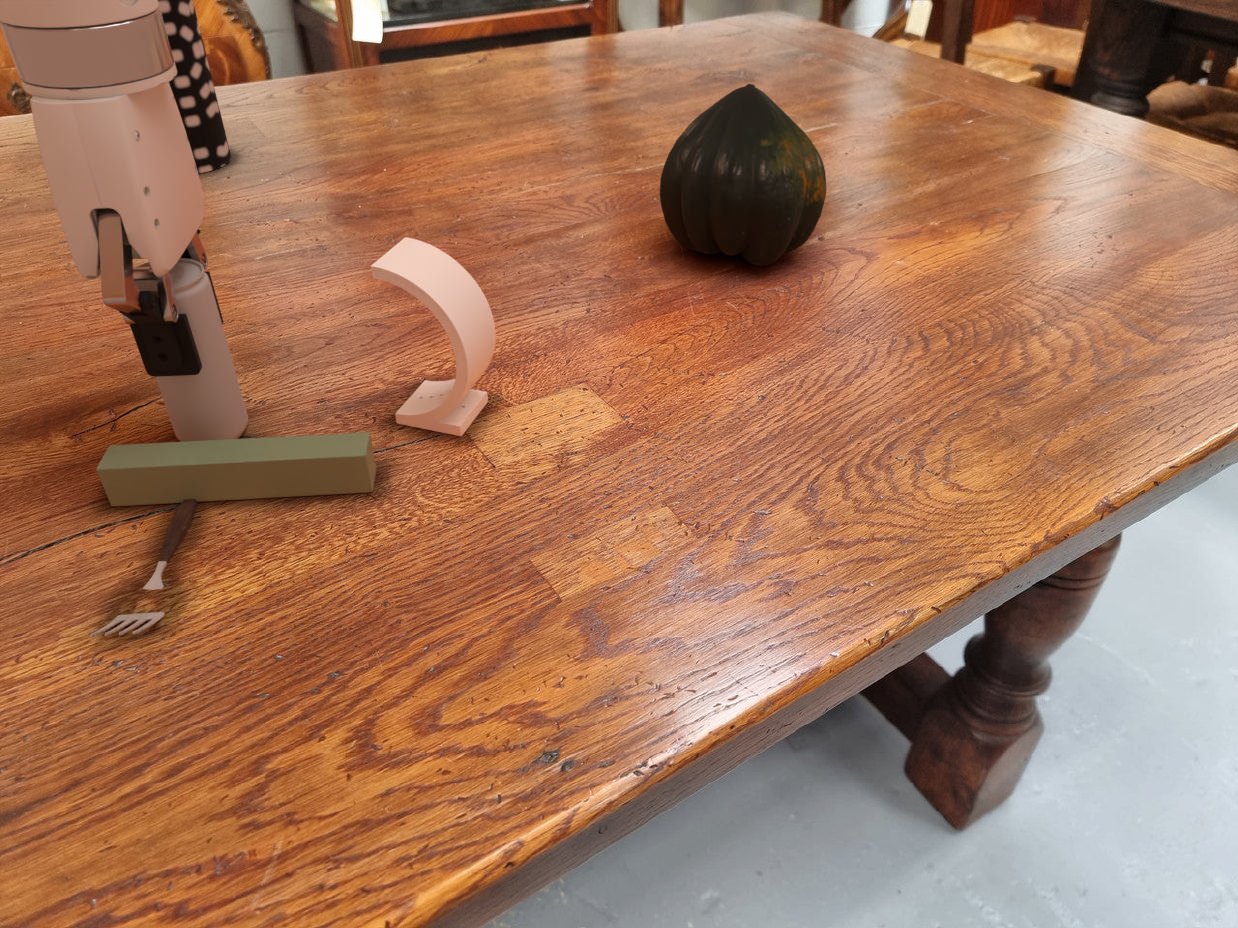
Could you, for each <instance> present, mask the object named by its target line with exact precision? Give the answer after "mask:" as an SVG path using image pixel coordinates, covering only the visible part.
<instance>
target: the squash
mask: <svg viewBox="0 0 1238 928" xmlns="http://www.w3.org/2000/svg"><path fill="white" fill-rule="evenodd" d="M825 169H826V168H825V165H824V161H823V158H822V156H821V154H820V152H819V150H818V149H817V147H816V146H815V144H814V143H813V141H812V140H811V138H810V137H809V136H808V135H807V133H806V132H805V131H804V130H803V129H802V128H801V127H800V126H799V125H798V124H797V123H796V122H795V121H794V120H793V119H792V118H791V117H790V116H789V115H788V114H787V113H786V112H785V111H784V110H783V109H782V108H781V107H780V106H779V105H777V104H776V103H775V101H773V99H772V98H771V97H769V96H768V95H767V94H766V93H765V92H764V91H762V90H761V89H759V88H758V87H756V85H755V84H753V83H747V84H745V86H740V87H738V88H735V89H733V90H732V91H730V92H729V93H727V94H725V95H724V96H722V98H720V99H719V100H717V101H716V102H714V103H713V104H712V105H711V106H710V107H708V108H707V109H706V110H704V111H703V112H702V113H700V114H698V115H697V117H695V118H694V120H692V121H691V122H690V123H689V124H688V126H687V127H686V128H685V129H684V130H683V132H682V133H680V135H679V136H678V138H677V139H676V140H675V142H674V144H673V146H672V147H671V149H670V151H669V152H668V155H667V157H666V160H665V162H664V165H663V167H662V171H661V176H660V180H659V181H660V182H659V183H660V184H659V201H660V207H661V211H662V215H663V218H664V222H665V224H666V226H667V228H668V230H669V232H670V234H671V235H672V236H673V238H674V239H675V240H676V241H677V242H678V243H679V244H680V245H682V247H684V248H687V249H689V250H691V251H695V252H701V253H703V254H707V255H713V254H714V255H715V254H717V253H720V252H722V253H723V254H725V255H729V256H736V255H739V254H741V256H742V257H743V258H744V260H745V261H746V262H748V263H749V264H751V265H753V266H759V267H760V266H761V267H764V266H769V265H772V264H774V263H775V262H777V260H778V259H779V258H780V257H781V256H782V255H787V254H789V253H793V252H794V251H796V250H798V249H800V248H801V247H802V246H803V245H804V244H806V243H807V241H808V240H809V239H810V238H811V235H812V234H813V232H814V231H815V230H816V226H817V225H818V222H819V220H820V218H821V216H822V213H823V208H824V206H825V201H826V197H827V177H826V170H825Z"/></svg>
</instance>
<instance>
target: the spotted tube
mask: <svg viewBox="0 0 1238 928" xmlns="http://www.w3.org/2000/svg"><path fill="white" fill-rule="evenodd" d="M158 3H159V6H160V10H161V14H162V17H163V21H164V25H165V29H166V32H167V36H168V40H169V43H170V47H171V51H172V55H173V58H174V62H175V65H176V69H177V75H176V76H175V77H174V79H172V80H171V81H169V84H170V87H171V90H172V92H173V95H174V98H175V101H176V104H177V107H178V110H179V113H180V116H181V119H182V122H183V125H184V128H185V131H186V134H187V137H188V140H189V144H190V147H191V150H192V154H193V157H194V160H195V164H196V168H197V171H198V174H203V173H208V172H211V171H214V170H218V169H220V168H222V167H225V166H226V165H227V164H229V163H230V162H231V160H232V153H231V150H230V145H229V142H228V137H227V134H226V129H225V126H224V120H223V118H222V113H221V108H220V105H219V101H218V97H217V93H216V90H215V85H214V80H213V77H212V73H211V68H210V64H209V60H208V56H207V53H206V49H205V45H204V41H203V36H202V32H201V28H200V24H199V20H198V16H197V12H196V9H195V4H194V0H158Z"/></svg>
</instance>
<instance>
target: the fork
mask: <svg viewBox="0 0 1238 928" xmlns="http://www.w3.org/2000/svg"><path fill="white" fill-rule="evenodd" d="M197 506H198V502H197V501H196V499H185V500H183V501H182V503H179V506H178V508H177V509H176V511H175V513H174V514H173V516H172V518H171V520H170V522H169V525H168V528H167V530H166V534H165V538H164V541H163V544H162V548H161V551H160V555H159V559H158V562H157V565H156V567H155V570H154V572H153V574H152V576H151V578H150V579H149V580H148V581H147V582H146V583H145V585H144V586H143V587H142V589H143V590H148V591H149V590H151V591H152V590H153V591H155V590H163V589H164V583H163V580H162V577H163V574H164V571H165V569H166V568H167V566H168V564H169V562H170V561H171V559H172V558H173V556H174V555H175V553H176V551H177V550H178V548H179V546H180V545H181V543H182V542H183V539H184V538H185V536H186V534H187V532H189V529H190V527H191V525H192V522H193V520H194V516H195V512H196V509H197ZM165 613H166V612H164V611H158V612H143V613H142V612H141V613H129V614H119V615H116V617H114V618H113V619H112V621H110V622H109V623H107V624H106V625H105V626H103V627H101V628H100V629H98V630H96V631H94V632H92V633H90V634H89V637H90V638H93V637H96V636H98V635H101V634H102V633H104V632H105V633H104V637H108V636H111V635H113V634H115V633H116V632H118V631H119V632H118V636H119V637H120V636H121V637H122V636H124V635H125V634H127V633H129V632H131V631H132V635H133V636H135V635H138V634H139V633H142V632H143V631H145V630H147V629H149V628H150V627H152V626H154V625H155V624H157V623H158V622H159V621H160V620H161V619H163V618H164V616H165ZM133 622H134V623H133ZM145 622H147V623H145ZM119 623H121V624H119ZM132 623H133V624H132ZM144 623H145V624H144ZM118 624H119V625H118ZM130 624H131V625H130ZM142 624H144V625H142ZM116 625H117V626H116ZM128 625H130V626H128ZM141 625H142V626H141ZM115 626H116V627H115ZM127 626H128V627H127ZM140 626H141V627H140ZM113 627H114V628H113ZM125 627H127V628H125ZM138 627H139V628H138ZM111 628H113V629H111ZM136 628H138V629H136ZM110 629H111V630H110ZM122 629H123V630H122ZM134 629H136V630H134ZM108 630H109V631H108ZM120 630H121V631H120ZM106 631H107V632H106Z"/></svg>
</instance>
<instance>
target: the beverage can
mask: <svg viewBox="0 0 1238 928" xmlns="http://www.w3.org/2000/svg"><path fill="white" fill-rule="evenodd" d="M136 267H151V266H150V263H149V261H148V262H144V263H142V264H140V265H137V266H136ZM170 271H171V276H172V281H173V286H174V291H175V296H176V301H177V306H178V311H179V314H186V315H187V318H188V321H189V325H190V328H191V331H192V334H193V337H194V341H195V344H196V347H197V350H198V354H199V357H200V360H201V363H202V369H201V371H200V373H199V374H197V375H184V376H161V377H154V378H155V381H156V383H157V386H158V389H159V392H160V394H161V398H162V400H163V403H164V406H165V409H166V412H167V415H168V418H169V421H170V424H171V427H172V429H173V432H174V435H175V436H176V438H177V440H179V442H186V441H206V440H226V439H240V437H241V436H242V435H243V433H244V432H245V430H246V428H247V427H248V425H249V415H248V411H247V408H246V404H245V401H244V397H243V393H242V390H241V387H240V383H239V380H238V376H237V372H236V368H235V365H234V361H233V357H232V354H231V350H230V347H229V344H228V340H227V336H226V332H225V328H224V326H223V325H224V324H223V325H222V322H221V318H220V315H219V311H218V308H217V304H216V300H215V297H214V293H213V290H212V286H211V283H210V280H209V277H208V275H207V274H206V273H205V272H206V270H204V267H203V265H202V264H201V263H199V262H198V261H195V260H192V259H187V258H180V259H179V260H178V262H177V263H176V264H175V266H174V267H173V268H172V269H171V270H170ZM134 282H135V285H136V286H137V287H138V288H140V290H141V291H150V292H152V293H153V294H154V295H156V296H157V297H158V298H159V296H158V291H157V286H156V281H155V280H141V281H134Z"/></svg>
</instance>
